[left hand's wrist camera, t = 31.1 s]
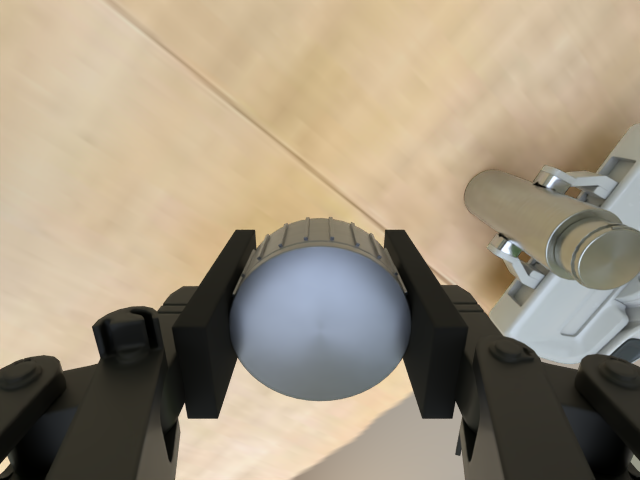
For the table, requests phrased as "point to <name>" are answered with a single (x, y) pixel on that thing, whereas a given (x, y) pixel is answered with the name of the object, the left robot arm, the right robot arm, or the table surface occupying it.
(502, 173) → the metal thermos flask
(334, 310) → the lid
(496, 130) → the table surface
